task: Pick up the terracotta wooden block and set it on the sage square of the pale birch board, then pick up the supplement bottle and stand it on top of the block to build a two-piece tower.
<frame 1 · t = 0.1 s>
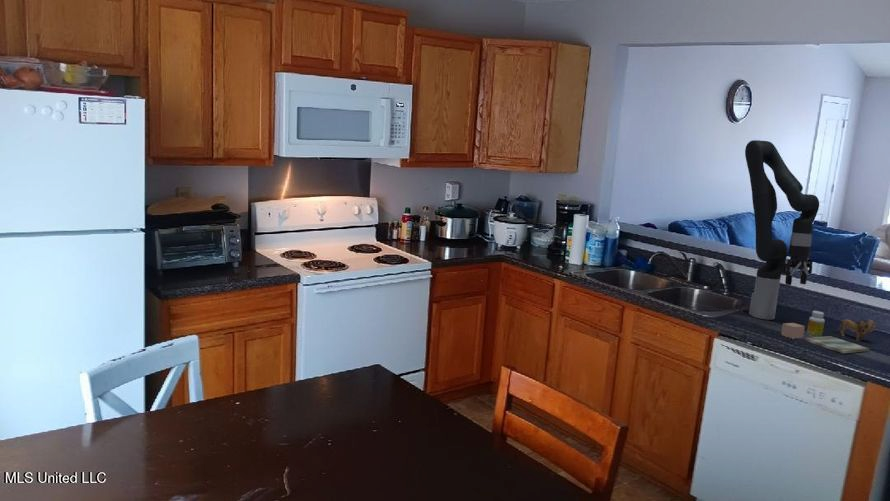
hand: (795, 284, 286), 18 cm above the table, tool pointing down, fingers open, 8 cm apart
terracotta block: (791, 337, 275), on the table
blueprint board: (836, 345, 266), on the table
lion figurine: (853, 338, 279), on the table
supplement bottle: (813, 336, 278), on the table
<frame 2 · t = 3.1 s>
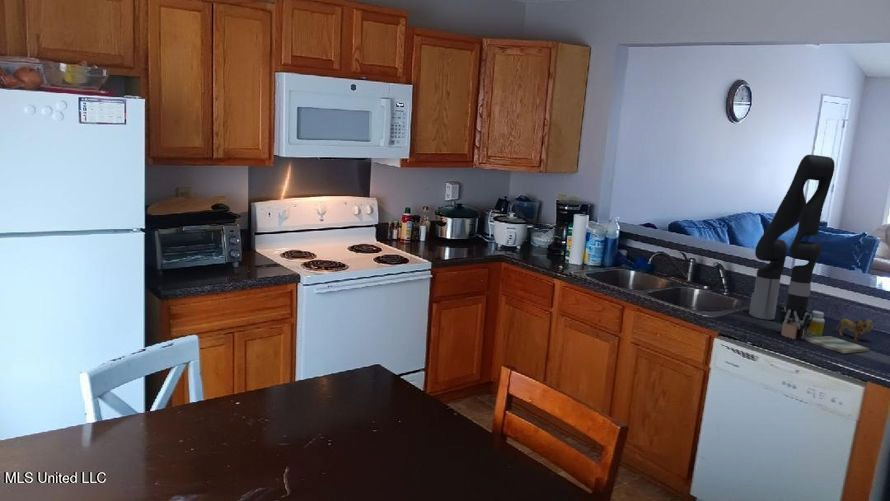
hand: (792, 335, 275), 0 cm above the table, tool pointing down, fingers closed on terracotta block, 5 cm apart
terracotta block: (791, 337, 275), on the table, touching gripper
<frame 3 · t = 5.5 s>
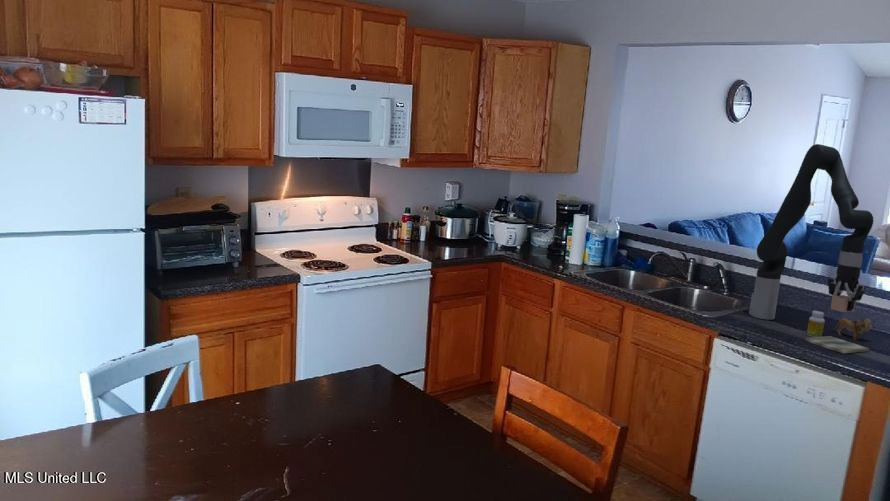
hand: (842, 308, 264), 14 cm above the table, tool pointing down, fingers closed on terracotta block, 5 cm apart
terracotta block: (842, 310, 264), point 14 cm above the table, touching gripper
when the fingers open (3 cm above the table, at t = 8.0 s): terracotta block drops 1 cm, resting on blueprint board.
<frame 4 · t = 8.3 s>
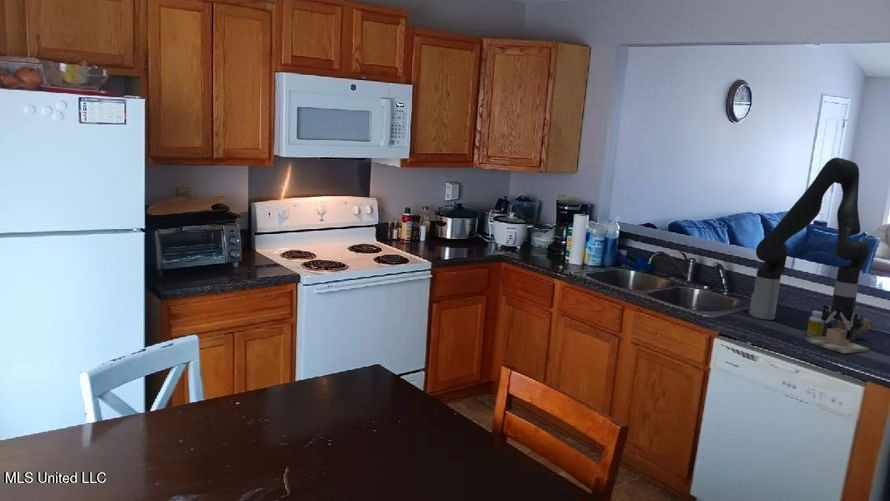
hand: (838, 336, 266), 4 cm above the table, tool pointing down, fingers open, 8 cm apart
terracotta block: (836, 342, 266), point 1 cm above the table, touching blueprint board
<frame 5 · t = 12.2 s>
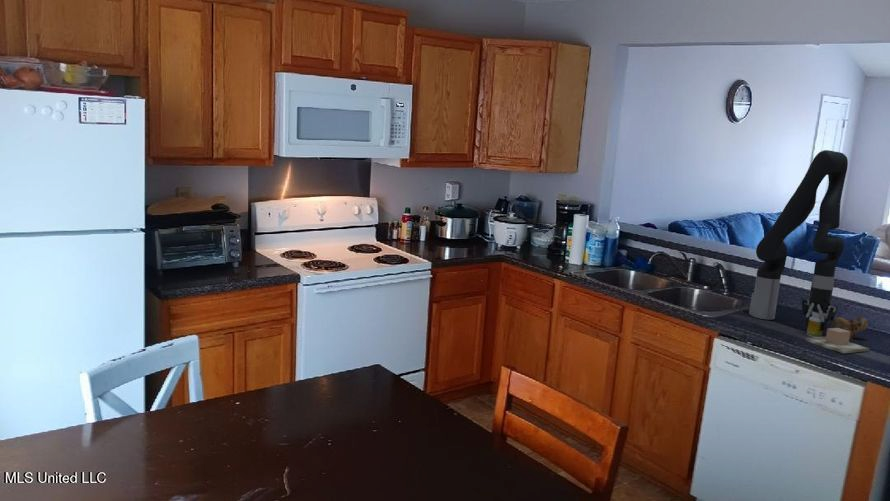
hand: (815, 328, 278), 3 cm above the table, tool pointing down, fingers closed on supplement bottle, 5 cm apart
supplement bottle: (813, 336, 278), on the table, touching gripper
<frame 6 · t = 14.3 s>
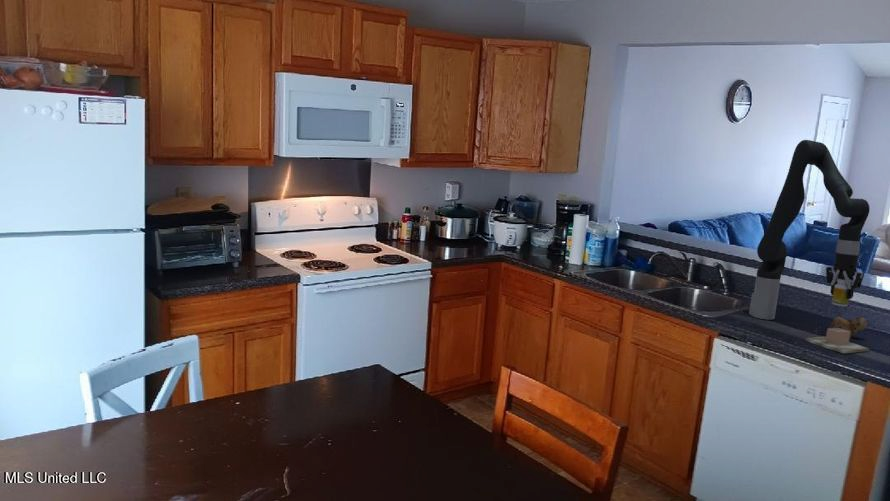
hand: (841, 296, 266), 18 cm above the table, tool pointing down, fingers closed on supplement bottle, 5 cm apart
supplement bottle: (839, 305, 266), point 15 cm above the table, touching gripper
when the fingers open (10 cm above the table, at t = 16.6 s): supplement bottle drops 1 cm, resting on terracotta block.
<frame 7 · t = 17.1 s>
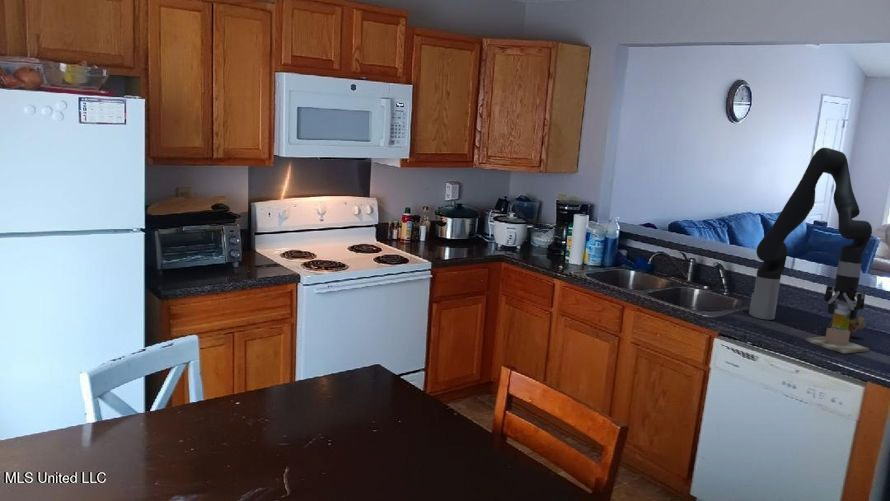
hand: (841, 316, 265), 11 cm above the table, tool pointing down, fingers open, 8 cm apart
terracotta block: (836, 342, 266), point 1 cm above the table, touching blueprint board, supplement bottle
supplement bottle: (839, 330, 265), point 6 cm above the table, touching terracotta block
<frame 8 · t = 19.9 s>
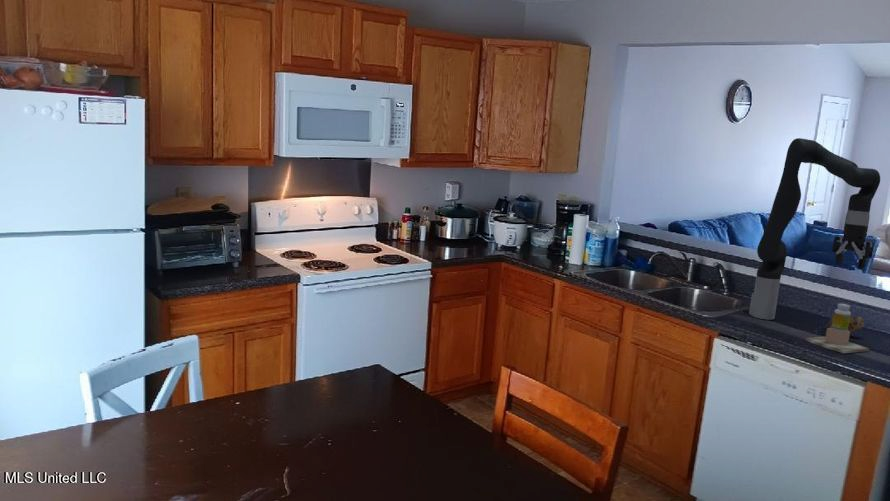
hand: (849, 266, 262), 30 cm above the table, tool pointing down, fingers open, 8 cm apart
at the end: terracotta block 0.2 cm off-centre on the blueprint board, point 1.1 cm above the blueprint board's base; supplement bottle 0.2 cm off-centre on the terracotta block, point 4.9 cm above the terracotta block's base; supplement bottle tilted 0° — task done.
